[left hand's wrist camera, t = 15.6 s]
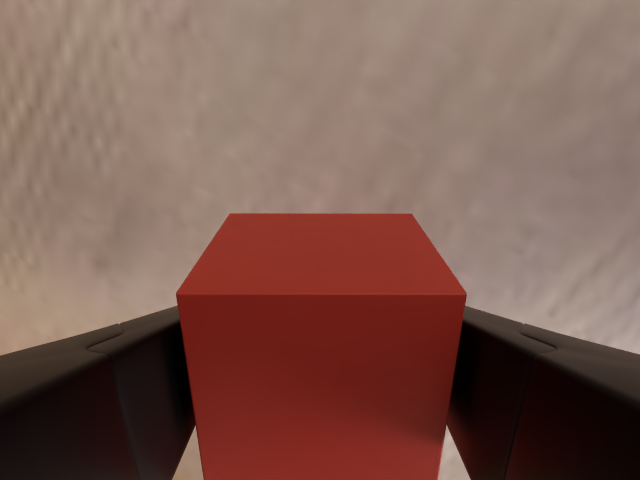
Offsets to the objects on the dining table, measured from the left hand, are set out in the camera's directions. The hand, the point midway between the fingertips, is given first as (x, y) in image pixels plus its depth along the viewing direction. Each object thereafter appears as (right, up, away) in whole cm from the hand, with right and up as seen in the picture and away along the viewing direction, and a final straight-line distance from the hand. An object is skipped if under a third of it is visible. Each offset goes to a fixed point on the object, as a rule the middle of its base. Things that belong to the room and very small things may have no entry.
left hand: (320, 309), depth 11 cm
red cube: (0, 0, +1) cm, 1 cm away
